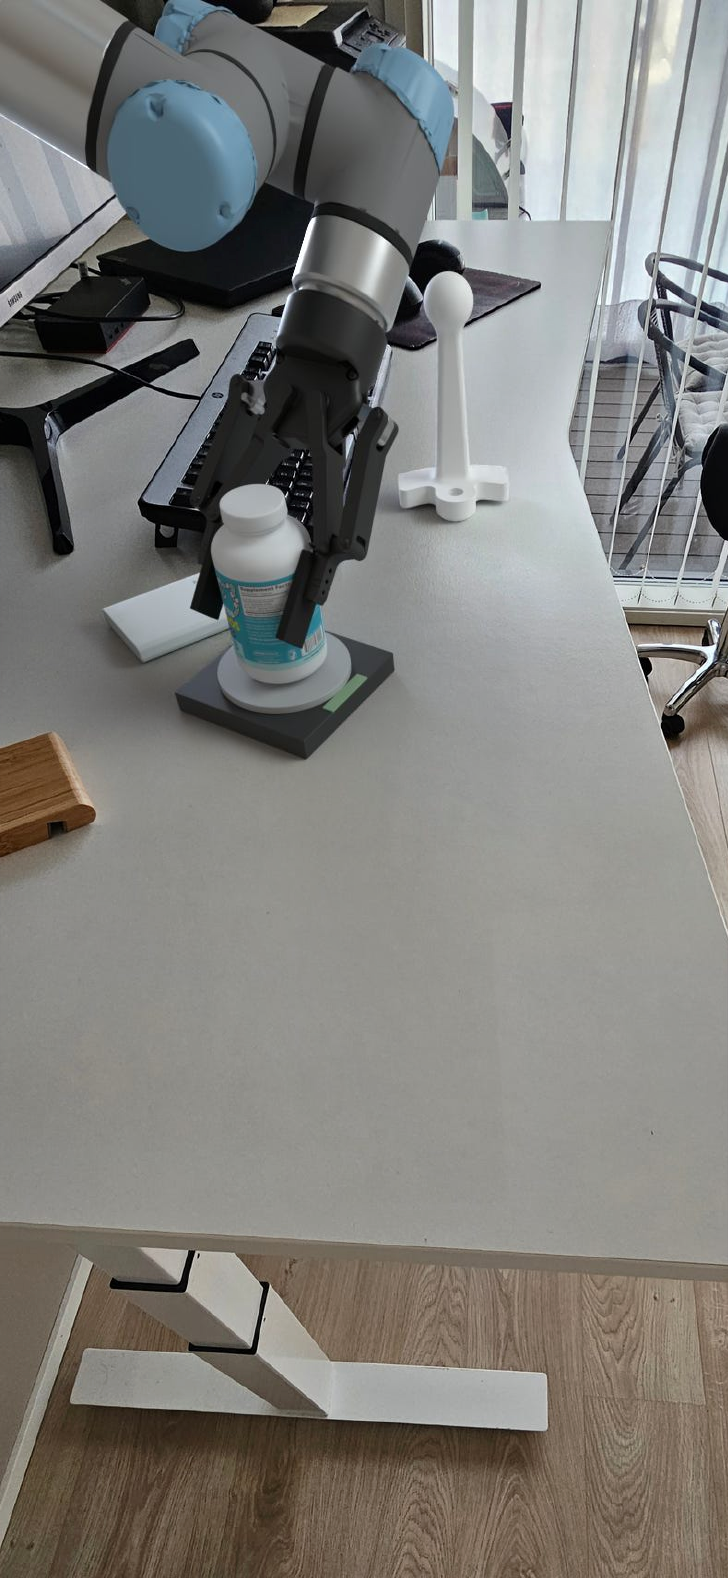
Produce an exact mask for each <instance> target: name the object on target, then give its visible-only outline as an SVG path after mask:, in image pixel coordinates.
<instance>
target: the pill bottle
mask: <svg viewBox="0 0 728 1578" xmlns="http://www.w3.org/2000/svg"><path fill="white" fill-rule="evenodd" d="M220 511H221V516H222V521H223V523H224V525H223V526H221V528H220V529H219V530H218V531H217V532H216V534H215V536H214V538H213V541H212V545H211V554H212V559H213V564H214V568H215V572H216V576H217V580H218V584H219V588H220V592H221V596H222V600H223V604H224V608H225V612H226V616H227V620H228V624H229V632H230V637H231V641H232V643H233V645H234V649H235V653H236V657H237V661H238V663H239V665H240V667H241V669H242V670H243V671H244V672H245V673H246V674H247V675H248V676H250V677H251V678H253V679H255V680H258V681H261V682H265V683H272V684H283V683H290V682H294V681H298V680H301V679H303V678H305V677H307V676H309V675H311V674H312V673H314V672H315V671H316V670H317V669H318V668H319V667H320V666H321V665H322V664H323V662H324V660H325V658H326V655H327V641H326V634H325V631H326V628H325V622H324V617H323V616H324V615H323V610H322V606H321V605H318V604H316V607H315V610H314V613H313V617H312V620H311V623H310V626H309V629H308V633H307V636H306V639H305V642H304V645H303V649H301V648H298V647H295V646H292V645H290V644H288V643H286V642H284V641H281V640H279V639H277V638H275V637H276V633H277V630H278V627H279V624H280V620H281V617H282V614H283V610H284V607H285V604H286V601H287V597H288V594H289V591H290V588H291V584H292V581H293V578H294V575H295V571H296V568H297V565H298V561H299V558H300V555H301V552H302V549H303V550H307V551H310V552H312V553H314V552H313V551H314V550H312V549H311V548H310V547H309V542H310V543H311V544H312V541H311V537H310V534H309V531H308V530H307V527H305V526H304V524H303V523H301V521H299V520H298V519H297V518H295V517H293V516H291V515H289V514H288V507H287V501H286V497H285V494H284V493H283V491H282V490H281V489H280V488H279V487H277V486H273V485H270V484H251V485H245V486H241V487H238V488H235V489H233V490H231V491H229V492H228V493H226V494H225V495H224V496H223V497H222V499H221V500H220Z"/></svg>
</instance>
